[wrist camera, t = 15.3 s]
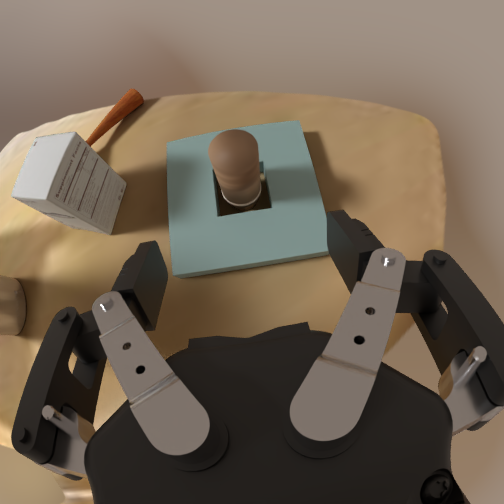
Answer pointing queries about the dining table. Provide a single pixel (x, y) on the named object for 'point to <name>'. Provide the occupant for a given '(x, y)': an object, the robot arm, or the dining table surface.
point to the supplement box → (70, 183)
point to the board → (248, 223)
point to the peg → (237, 167)
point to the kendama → (117, 114)
